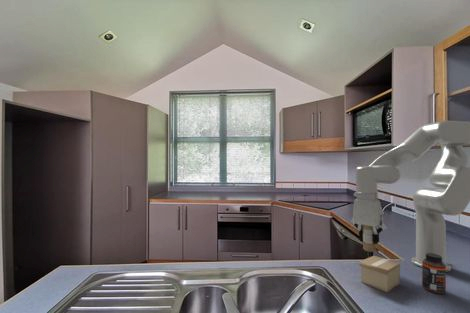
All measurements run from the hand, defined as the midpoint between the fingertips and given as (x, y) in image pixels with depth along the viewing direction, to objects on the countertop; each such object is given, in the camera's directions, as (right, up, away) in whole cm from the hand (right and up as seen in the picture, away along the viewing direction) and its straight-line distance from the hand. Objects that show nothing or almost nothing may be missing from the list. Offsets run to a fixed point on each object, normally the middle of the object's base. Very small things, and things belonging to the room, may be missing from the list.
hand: (369, 241), depth 97 cm
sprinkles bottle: (0, -4, 0) cm, 4 cm away
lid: (-5, -3, -15) cm, 16 cm away
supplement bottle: (+11, -9, -19) cm, 23 cm away
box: (-4, -9, -15) cm, 18 cm away
